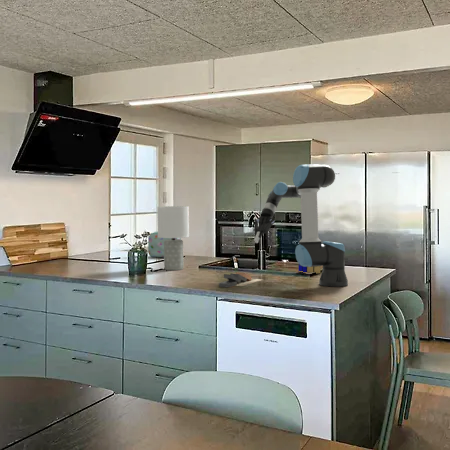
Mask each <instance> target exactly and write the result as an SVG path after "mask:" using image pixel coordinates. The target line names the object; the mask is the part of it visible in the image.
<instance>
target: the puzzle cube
mask: <svg viewBox="0 0 450 450" xmlns="http://www.w3.org/2000/svg"><path fill="white" fill-rule="evenodd" d="M299 271H303V272H316V274H315V275H318V274H320V275H321V266H311V267H304V266H301V265H300V264H299V263H298V272H299Z"/></svg>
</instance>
